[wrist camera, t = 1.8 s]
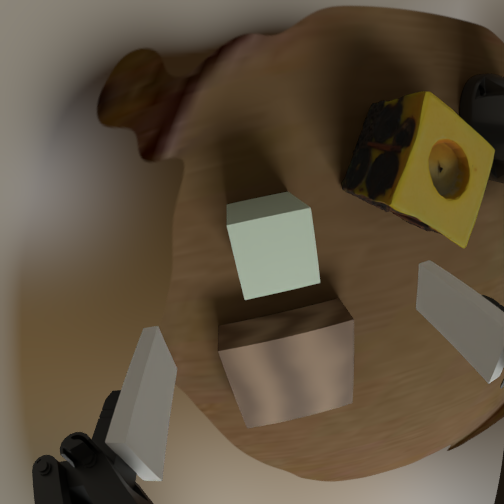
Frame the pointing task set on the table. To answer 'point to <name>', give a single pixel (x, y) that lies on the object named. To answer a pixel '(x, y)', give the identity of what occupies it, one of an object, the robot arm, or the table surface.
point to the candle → (421, 165)
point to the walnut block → (290, 362)
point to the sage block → (273, 244)
